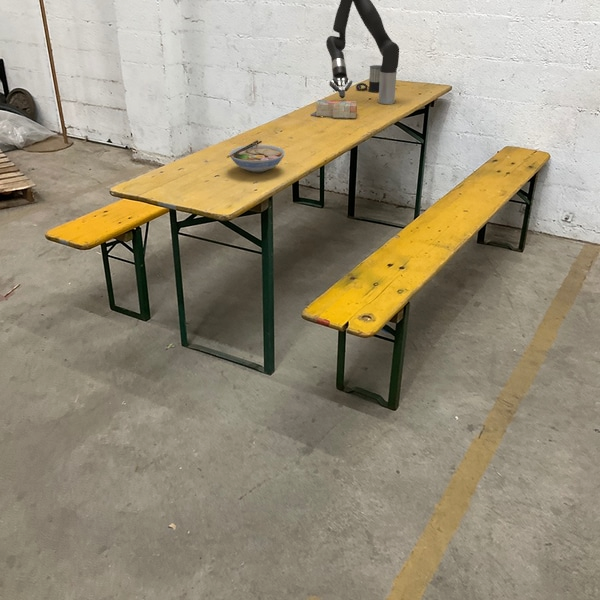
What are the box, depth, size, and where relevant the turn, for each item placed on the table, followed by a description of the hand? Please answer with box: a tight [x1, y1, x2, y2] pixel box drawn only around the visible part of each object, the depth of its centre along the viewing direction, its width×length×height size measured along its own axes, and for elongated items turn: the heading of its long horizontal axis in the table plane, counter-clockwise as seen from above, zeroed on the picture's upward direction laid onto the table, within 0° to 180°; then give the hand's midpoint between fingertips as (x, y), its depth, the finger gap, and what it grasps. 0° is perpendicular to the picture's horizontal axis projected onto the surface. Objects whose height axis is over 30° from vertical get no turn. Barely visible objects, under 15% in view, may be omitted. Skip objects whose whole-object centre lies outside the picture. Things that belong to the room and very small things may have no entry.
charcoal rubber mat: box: [310, 110, 349, 120], centre depth 335 cm, size 9×21×1 cm, turn 67°
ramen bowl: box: [226, 139, 286, 173], centre depth 256 cm, size 25×23×8 cm
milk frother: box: [355, 64, 382, 94], centre depth 387 cm, size 14×16×15 cm
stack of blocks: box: [315, 99, 358, 119], centre depth 333 cm, size 21×6×12 cm
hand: (342, 97), depth 334 cm, fingers closed
